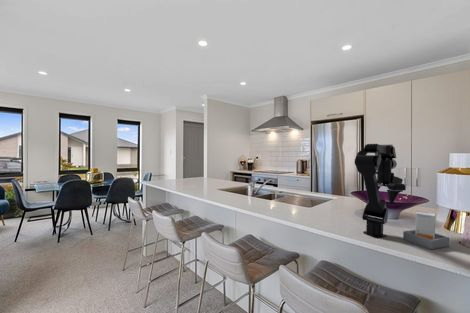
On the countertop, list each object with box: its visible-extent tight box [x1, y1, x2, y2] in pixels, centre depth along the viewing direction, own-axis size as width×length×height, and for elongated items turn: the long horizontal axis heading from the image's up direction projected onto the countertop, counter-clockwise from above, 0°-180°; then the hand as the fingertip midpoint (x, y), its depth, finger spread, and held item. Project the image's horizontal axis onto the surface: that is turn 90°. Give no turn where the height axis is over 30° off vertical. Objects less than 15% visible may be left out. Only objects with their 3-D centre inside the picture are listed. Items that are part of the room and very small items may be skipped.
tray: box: [402, 229, 450, 251], centre depth 90 cm, size 10×10×4 cm
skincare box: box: [414, 210, 437, 240], centre depth 89 cm, size 6×4×12 cm
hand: (383, 202), depth 106 cm, fingers open, 9 cm apart
